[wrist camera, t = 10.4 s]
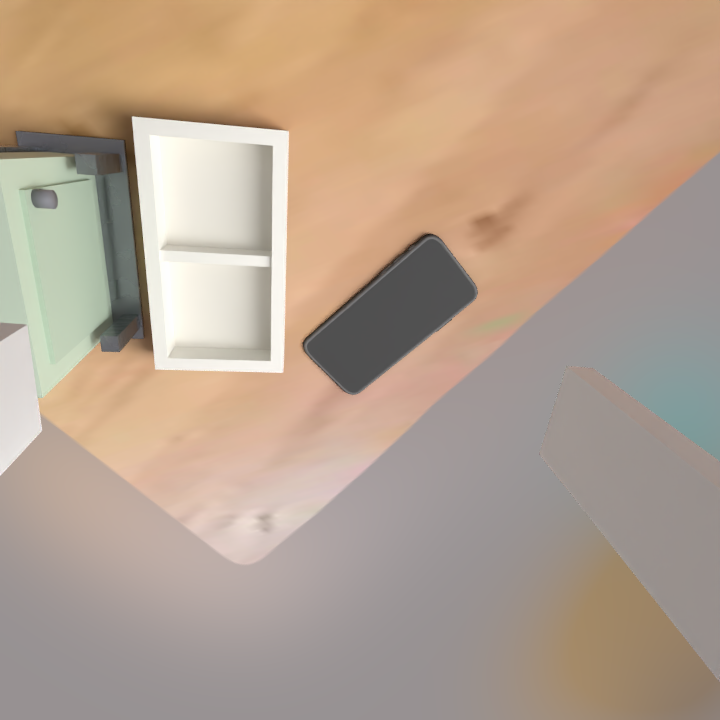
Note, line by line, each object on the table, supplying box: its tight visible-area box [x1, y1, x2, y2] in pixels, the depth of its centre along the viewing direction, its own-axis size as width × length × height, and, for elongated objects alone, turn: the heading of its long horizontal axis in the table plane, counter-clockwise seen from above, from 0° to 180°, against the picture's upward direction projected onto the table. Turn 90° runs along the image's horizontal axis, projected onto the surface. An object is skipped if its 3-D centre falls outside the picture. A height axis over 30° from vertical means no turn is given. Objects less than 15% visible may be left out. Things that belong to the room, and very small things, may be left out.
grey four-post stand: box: [0, 131, 145, 352], centre depth 34 cm, size 15×7×5 cm, turn 176°
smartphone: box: [303, 234, 478, 395], centre depth 42 cm, size 7×1×15 cm
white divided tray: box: [132, 117, 289, 373], centre depth 37 cm, size 18×10×3 cm, turn 176°
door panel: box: [0, 152, 113, 398], centre depth 31 cm, size 13×4×12 cm, turn 175°
